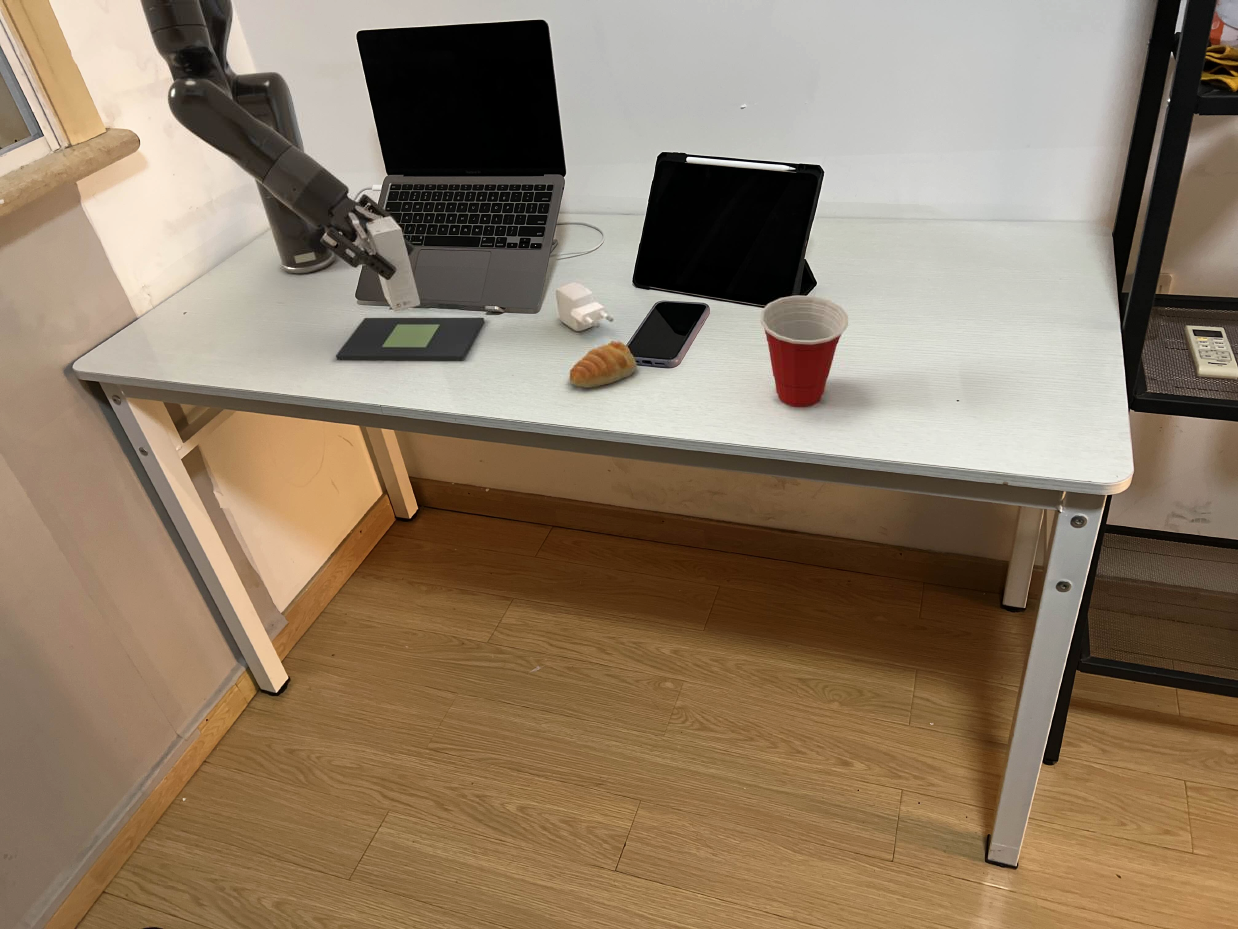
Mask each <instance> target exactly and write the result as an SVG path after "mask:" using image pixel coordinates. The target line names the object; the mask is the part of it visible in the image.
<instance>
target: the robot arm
mask: <svg viewBox="0 0 1238 929" xmlns="http://www.w3.org/2000/svg"><path fill="white" fill-rule="evenodd" d="M139 1H140V4H141V7H142V11H143V13H144V17H145V20H146V23H147V26H148V30H149V32H150V35H151V39H152V41H153V45H154V47H155V48H156V50H157V53H158V54H159V56H160V57H162V59H163V60H164V61H165V63H166V65H167V66H168V69H169V72H170V74H171V77H172V80H173V82H172V83H171V85H170V87H169V89H168V92H167V103H168V104H167V105H168V109H169V110H170V112H171V114H172V116H173V117H174V119H175V120H176V121H177V122H178V123H179V124H180V125H181V126H182V127H184V128H185V129H187V131H189V132H191V134H192V135H194V136H196V137H197V138H198V139H199V140H201V141H203V142H205V143H206V144H207V145H209V146H211V147H212V148H214V149H215V150H216V151H218V152H220V153H221V154H222V155H225V156H226V157H228V158H229V159H230V160H232V161H233V162H234V163H235V164H236V165H237V166H238V167H239V168H240V169H242V170H243V171H244V172H245V173H247V174H248V175H249V176H250V177H252V178H253V179H254V181H255V184H256V187H257V191H258V193H259V197H260V200H261V202H262V206H263V208H264V212H265V215H266V218H267V221H268V224H269V227H270V231H271V234H272V236H273V240H274V242H275V246H276V249H277V252H278V256H279V258H280V261H281V262H280V263H281V266H282V269H283V271H285V272H286V273H288V274H289V273H290V274H308V273H312V272H317V271H320V270H322V269H325V268H326V267H328V266H330V265H331V264H332V263H333V262H334V261H335V258H336V257H335V255H336V256H337V257H339V258H340V259H341V260H343V261H344V262H345V263H347V265H349V266H350V267H352V268H354V269H357V268H358V267H359V266H367V267H369V269H371V270H373V272H375V273H376V274H379V275H380V276H381V277H383V278H385V279H386V280H390V279H391V277H392V276H393V275H394V274H395V272H396V271H397V269H396V267H394V266H393V265H392V264H391V263H389V262H388V261H387V260H386V259H384V258H383V257H382V256H381V255H379V254H378V253H377V252H376V253H375V254H374V250H373V249H372V247H371V246H370V243H369V239H368V236H367V231H368V230H367V227H366V224H367V223H368V222H369V221H373V220H377V219H381V218H385V217H389V216H391V218H392V219H393V220H394V221H395V222H396V223H397V219H396V218H395V217H394V216H393V215H391V214H390V213H389V212H388V211H387V210H386V209H384V208H383V207H382V206H380V205H379V204H378V203H377V202H376V201H375V200H374V199H373V198H371V197H370V196H369V195H368V194H365V193H363V194H362V195H361V196H360V197H359V199H358V201H355V200H353V199H352V198H350V197H349V196H348V194H349V192H350V190H349V187H348V186H347V185H346V184H345V183H343V181H341V180H340V179H339V178H337V177H336V176H335V175H334V174H332V173H331V171H329V170H327V168H325V167H324V166H323V165H322V164H320V163H319V162H318V161H317V160H316V159H314V158H313V157H311V155H309V154H307V153H306V152H305V147H304V143H303V139H302V136H301V131H300V127H299V123H298V119H297V118H298V117H297V115H296V110H295V105H294V101H293V97H292V93H291V90H290V88H289V85H288V83H287V81H286V80H285V78H284V77H283V76H282V75H281V74H280V73H279V72H276V71H265V72H253V73H244V74H237V73H236V72H235V71H234V70H233V69H232V67H231V66H230V63H229V61H228V57H227V54H228V53H227V51H228V43H229V38H230V34H231V30H232V24H233V17H234V16H233V15H234V10H233V2H232V0H139ZM403 238H404V242H405V246H406V249H407V253H408V257H410V255H411V254H412V253H413V251H414V250H415V245H413V244H412V243H411V242H410V241H409V240H407V238H405V237H404V236H403ZM347 251H348V252H347ZM350 254H352V255H353V256H352V255H350ZM379 275H378V276H379Z"/></svg>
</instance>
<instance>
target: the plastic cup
mask: <svg viewBox="0 0 1238 929" xmlns="http://www.w3.org/2000/svg"><path fill="white" fill-rule="evenodd" d="M759 321H760V324H761V326H762V327H763V329H764V333H765V337H766V341H767V344H768V351H769V359H770V365H771V370H772V371H771V372H772V376H773V378H774V384H775V391H776V394H777V397H778V399H779V400H780V402H781V403H783V404H784V405H787V406H790V407H794V408H806V407H812V406H813V405H816V404H818V403H820V400H821V399H822V397H823V395H824V393H825V388H826V384H827V380H828V378H829V376H830V371H831V367H832V364H833V360H834V357H835V353H836V350H837V347H838V344H839V341H840V338H841V337H842V334H843V333H844V332H845V331H846V330H847V328H848V326H849V315H848V314H847V312H846V311H845V310H844V309H843V308H842V306H840V305H839V304H837V303H835V302H833V301H831V300H829V299H826V298H822V297H818V296H815V295H790V296H785V297H779V298H777V299H775V300H773V301H770V302H769V303H767V304H766V305H765V306H764V307H763V309H762V310H761V311H760V320H759Z"/></svg>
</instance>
